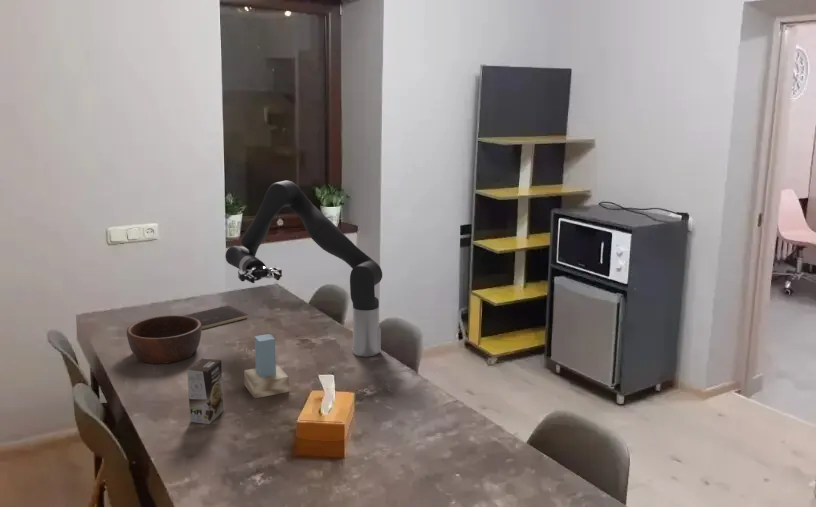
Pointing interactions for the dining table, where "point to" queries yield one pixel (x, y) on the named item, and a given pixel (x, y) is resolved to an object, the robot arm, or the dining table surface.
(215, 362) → the coffee box
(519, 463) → the dining table surface
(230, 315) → the hardcover book
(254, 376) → the birch block
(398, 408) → the dining table surface
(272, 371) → the blue pillar
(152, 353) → the wooden bowl
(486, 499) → the dining table surface
